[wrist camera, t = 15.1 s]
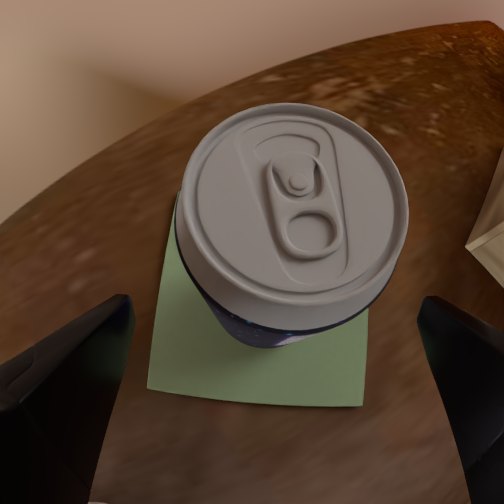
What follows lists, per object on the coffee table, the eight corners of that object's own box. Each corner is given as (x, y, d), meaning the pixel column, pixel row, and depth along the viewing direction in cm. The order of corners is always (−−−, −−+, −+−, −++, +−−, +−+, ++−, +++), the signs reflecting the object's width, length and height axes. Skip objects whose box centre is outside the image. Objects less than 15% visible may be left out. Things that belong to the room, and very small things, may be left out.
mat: (360, 405, 16) (362, 406, 16) (148, 387, 16) (146, 388, 16) (364, 212, 20) (366, 209, 20) (179, 193, 20) (178, 190, 20)
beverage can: (304, 242, 19) (375, 90, 8) (324, 338, 17) (454, 295, 6) (207, 256, 19) (160, 105, 7) (221, 356, 17) (174, 351, 5)
